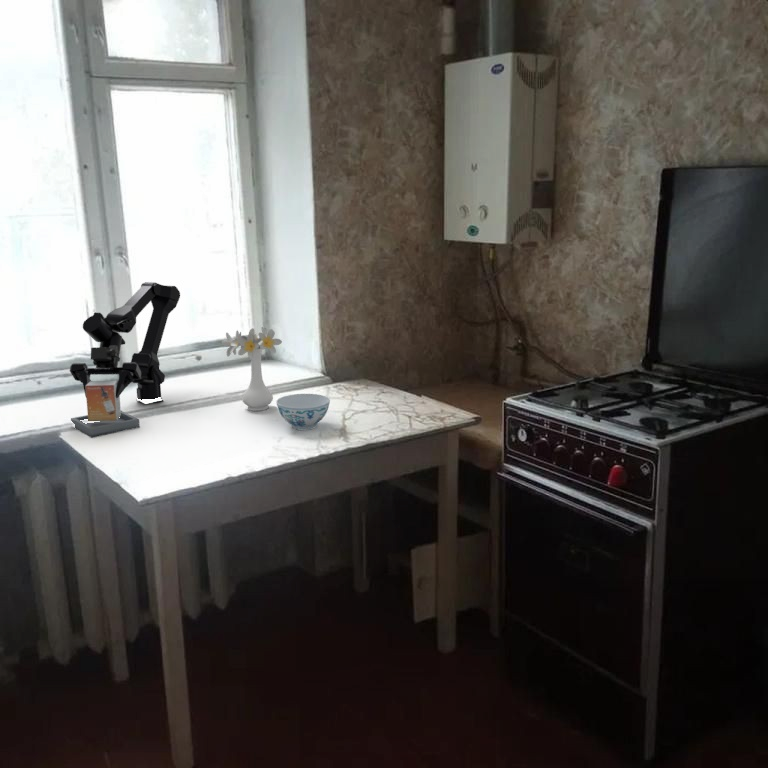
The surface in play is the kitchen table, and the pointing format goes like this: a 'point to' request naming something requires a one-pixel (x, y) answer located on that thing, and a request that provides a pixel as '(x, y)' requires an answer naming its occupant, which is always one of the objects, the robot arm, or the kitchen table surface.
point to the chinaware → (303, 409)
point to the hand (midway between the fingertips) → (101, 397)
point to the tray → (106, 425)
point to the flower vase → (254, 364)
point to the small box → (102, 401)
